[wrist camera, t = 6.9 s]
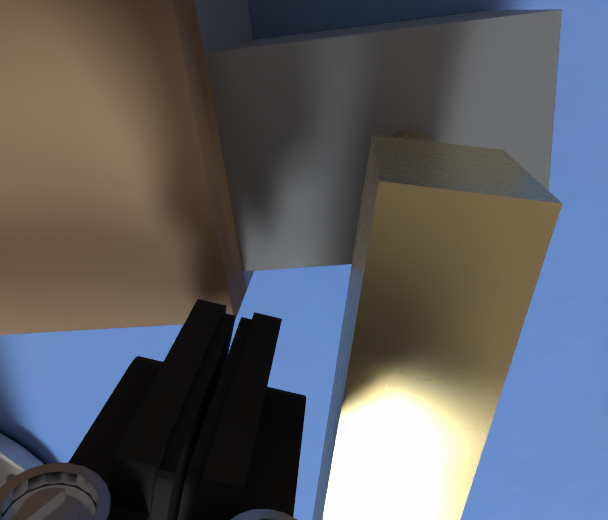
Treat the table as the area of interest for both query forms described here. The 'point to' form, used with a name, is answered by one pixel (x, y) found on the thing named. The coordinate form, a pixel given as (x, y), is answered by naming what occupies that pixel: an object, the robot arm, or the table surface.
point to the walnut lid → (110, 168)
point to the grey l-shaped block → (364, 113)
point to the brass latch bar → (428, 325)
